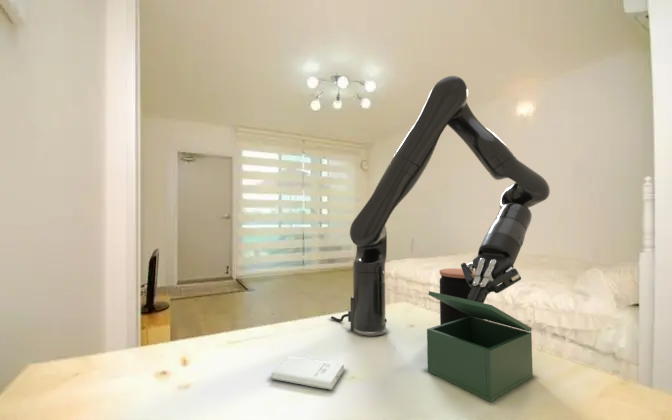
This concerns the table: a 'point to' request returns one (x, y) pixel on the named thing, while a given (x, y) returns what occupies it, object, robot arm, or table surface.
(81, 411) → the table surface
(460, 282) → the coffee jar
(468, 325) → the green box
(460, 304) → the green lid
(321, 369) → the hard drive
